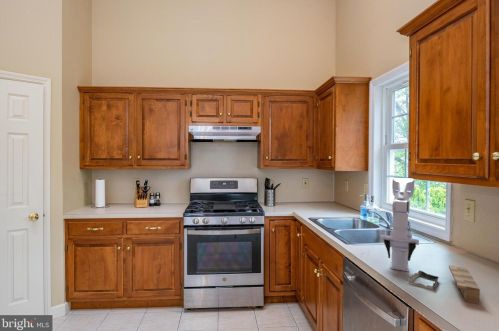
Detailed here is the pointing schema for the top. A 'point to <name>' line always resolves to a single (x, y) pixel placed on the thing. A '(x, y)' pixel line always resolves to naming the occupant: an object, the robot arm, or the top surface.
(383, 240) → the robot arm
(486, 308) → the top surface
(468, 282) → the brown ridged block
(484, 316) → the top surface
